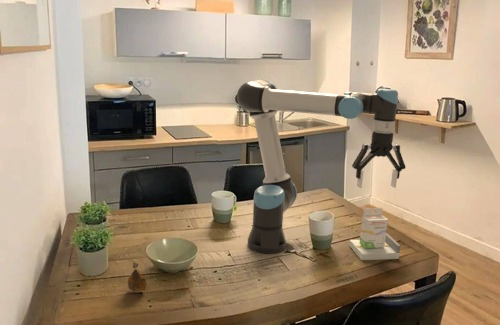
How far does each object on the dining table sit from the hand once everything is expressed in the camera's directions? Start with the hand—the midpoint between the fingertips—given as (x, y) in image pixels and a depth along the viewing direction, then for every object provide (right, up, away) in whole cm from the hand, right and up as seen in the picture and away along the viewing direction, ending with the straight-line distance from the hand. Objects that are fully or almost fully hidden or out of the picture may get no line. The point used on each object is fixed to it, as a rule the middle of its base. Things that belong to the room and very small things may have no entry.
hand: (376, 186), depth 178 cm
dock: (+1, -26, +6) cm, 27 cm away
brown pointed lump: (-85, -32, -29) cm, 95 cm away
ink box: (0, -24, +6) cm, 24 cm away
